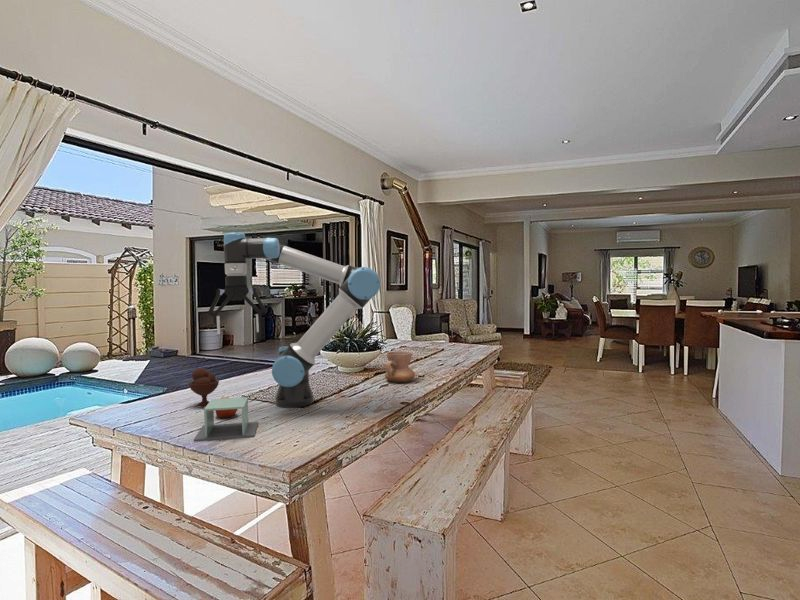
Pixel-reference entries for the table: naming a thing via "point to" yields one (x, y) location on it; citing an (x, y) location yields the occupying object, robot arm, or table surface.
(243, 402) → the cover
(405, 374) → the ceramic jug
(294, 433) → the table surface
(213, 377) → the ice cream bowl
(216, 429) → the mat
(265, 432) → the table surface
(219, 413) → the fruit
